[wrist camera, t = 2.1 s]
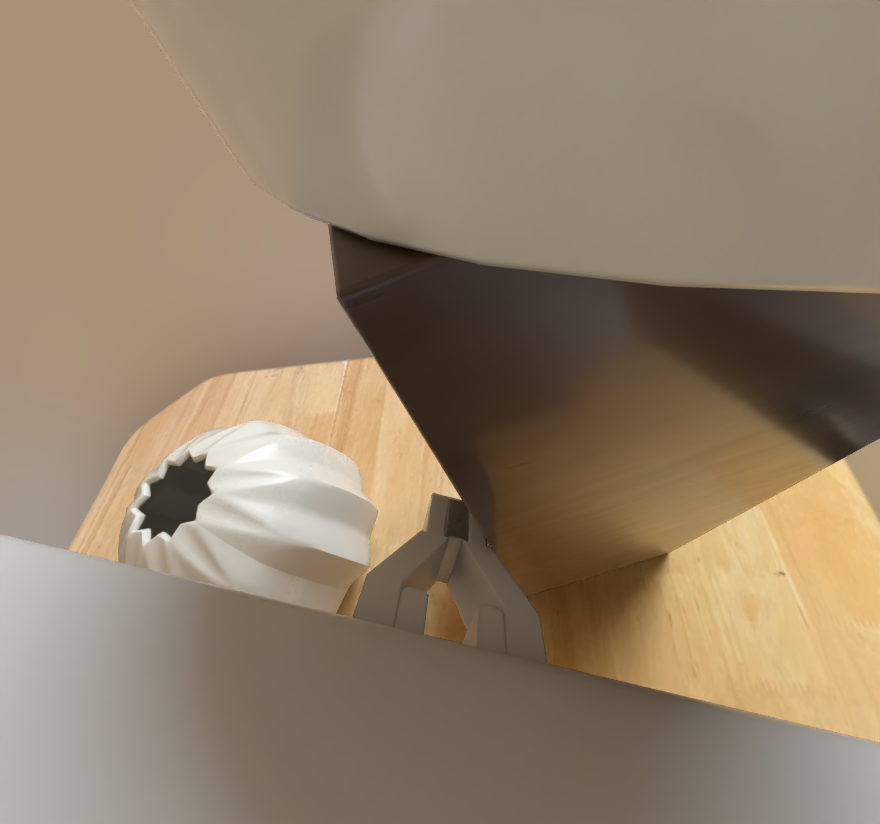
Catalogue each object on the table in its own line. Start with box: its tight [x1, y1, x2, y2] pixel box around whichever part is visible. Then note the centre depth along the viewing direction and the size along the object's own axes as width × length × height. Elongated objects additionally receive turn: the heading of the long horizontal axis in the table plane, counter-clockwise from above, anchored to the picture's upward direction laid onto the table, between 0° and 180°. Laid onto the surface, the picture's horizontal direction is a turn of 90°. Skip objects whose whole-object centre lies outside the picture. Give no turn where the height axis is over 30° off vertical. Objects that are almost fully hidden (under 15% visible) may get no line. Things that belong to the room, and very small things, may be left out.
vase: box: [118, 420, 378, 614], centre depth 23 cm, size 14×14×13 cm
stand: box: [328, 224, 880, 596], centre depth 15 cm, size 10×8×26 cm
